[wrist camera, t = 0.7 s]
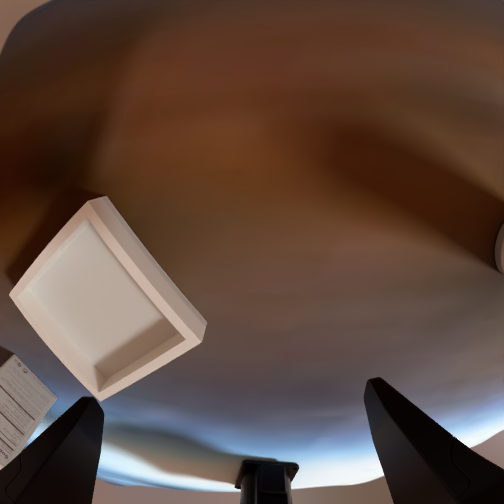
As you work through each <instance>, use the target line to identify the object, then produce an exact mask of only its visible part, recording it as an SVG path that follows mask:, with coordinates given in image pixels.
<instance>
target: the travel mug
mask: <svg viewBox="0 0 504 504" xmlns="http://www.w3.org/2000/svg"><path fill="white" fill-rule="evenodd" d="M495 261H496V265H497V268H498V270H499V271H500V272H501V273H502V274H503V275H504V223H503V225H502V227H501V229H500V231H499V233H498V236H497V239H496V244H495Z"/></svg>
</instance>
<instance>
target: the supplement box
mask: <svg viewBox="0 0 504 504" xmlns="http://www.w3.org/2000/svg"><path fill="white" fill-rule="evenodd" d="M56 399H57V397H56V395H55V394H54V393H53V392H52V391H51V390H50V389H49V388H48V387H46V386H45V385H44V384H43V383H42V382H41V381H40V380H39V379H38V378H37V377H36V376H35V375H34V374H33V373H32V372H31V371H30V370H29V368H28V367H27V366H26V365H25V364H24V363H23V362H22V361H21V360H20V359H19V358H18V357H17V356H16V355H15V354H13V355H12V356H11V357H10V358H9V359H8V360H7V361H6V362H5V363H4V364H3V365H2V366H1V367H0V470H1V469H2V468H3V467H5V466H6V465H7V464H8V463H9V462H11V461H12V460H13V459H14V458H15V457H16V456H17V455H18V454H19V453H20V452H21V450H22V449H23V447H24V446H25V444H26V443H27V441H28V440H29V439H30V437H31V436H32V434H33V433H34V431H35V430H36V428H37V427H38V425H39V424H40V422H41V421H42V419H43V418H44V416H45V415H46V413H47V412H48V411H49V409H50V408H51V406H52V405H53V403H54V402H55V401H56Z"/></svg>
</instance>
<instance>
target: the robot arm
mask: <svg viewBox="0 0 504 504" xmlns="http://www.w3.org/2000/svg"><path fill="white" fill-rule="evenodd" d="M364 403H365V407H366V412H367V416H368V421H369V425H370V430H371V435H372V439H373V443H374V446H375V449H376V451H377V454H378V457H379V460H380V463H381V466H382V469H383V472H384V475H385V478H386V481H387V484H388V487H389V490H390V493H391V496H392V499H393V503H394V504H504V469H502V468H501V467H499V466H497V465H496V464H494V463H492V462H490V461H489V460H487V459H485V458H484V457H482V456H480V455H479V454H477V453H476V452H474V451H473V450H471V449H470V448H469V447H467V446H466V445H464V444H463V443H462V442H460V441H459V440H458V439H457V438H455V437H453V435H452V434H450V433H449V432H448V431H446V430H445V429H444V428H443V427H441V426H440V425H439V424H438V423H436V422H435V421H434V420H433V419H431V418H430V417H429V416H428V415H426V414H425V413H424V412H423V411H422V410H420V409H419V408H418V407H417V406H415V405H414V404H413V403H412V402H410V401H409V400H408V399H407V398H405V397H404V396H403V395H402V394H400V393H399V392H398V391H397V390H396V389H394V388H393V387H392V386H391V385H389V384H388V383H387V382H386V381H385V380H383V379H382V378H380V377H376V378H372V379H369V380H368V381H367V384H366V388H365V393H364ZM103 424H104V412H103V410H102V408H101V407H100V405H99V403H98V402H97V400H96V399H95V398H94V397H93V396H83V397H81V398H80V399H79V400H78V401H77V402H76V403H75V404H73V405H72V406H71V407H70V408H69V409H68V410H67V411H66V412H65V413H63V414H62V415H61V416H60V417H59V418H58V419H57V420H56V421H55V422H54V423H52V424H51V425H50V426H49V427H48V428H47V429H46V430H45V431H44V432H43V433H41V434H40V435H39V436H38V437H37V438H36V439H35V440H34V441H33V442H32V443H31V444H29V445H28V446H27V447H26V448H25V449H24V450H23V451H22V452H21V453H19V454H18V455H17V456H16V457H15V458H14V459H13V460H12V461H11V462H9V463H8V464H7V465H6V466H5V467H3V468H2V469H1V470H0V504H92V498H93V492H94V486H95V480H96V475H97V469H98V464H99V459H100V453H101V444H102V434H103ZM298 470H299V465H298V464H287V463H272V462H261V461H251V460H244V461H243V462H242V465H241V468H240V471H239V474H238V477H237V480H236V483H235V488H237V489H241V499H240V501H241V502H240V504H292V494H291V482H292V480H293V478H294V477H295V475H296V473H297V471H298Z"/></svg>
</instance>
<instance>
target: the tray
mask: <svg viewBox="0 0 504 504" xmlns="http://www.w3.org/2000/svg"><path fill="white" fill-rule="evenodd" d="M9 296H10V297H11V299H12V300H13V301H14V303H15V304H16V306H17V307H18V308H19V310H20V311H21V312H22V314H23V315H24V317H25V318H26V319H27V320H28V322H29V323H30V324H31V326H32V327H33V328H34V330H35V331H36V332H37V333H38V335H39V336H40V337H41V338H42V339H43V341H44V342H45V343H46V344H47V345H48V347H49V348H50V349H51V350H52V351H53V353H54V354H55V355H56V356H57V357H58V358H59V359H60V360H61V362H62V363H63V364H64V365H65V366H66V367H67V368H68V369H69V370H70V371H71V373H72V374H73V375H74V376H75V377H76V378H77V379H78V380H79V381H80V382H81V383H82V384H83V385H84V386H85V387H86V388H87V389H88V390H89V391H90V392H91V393H92V394H93V395H94V396H95V397H96V398H97V399H98V400H99V401H102V400H104V399H106V398H107V397H109V396H111V395H113V394H115V393H116V392H118V391H120V390H122V389H124V388H125V387H127V386H129V385H131V384H132V383H134V382H136V381H137V380H139V379H141V378H143V377H144V376H146V375H148V374H150V373H151V372H153V371H155V370H156V369H158V368H160V367H161V366H163V365H165V364H167V363H168V362H170V361H172V360H173V359H175V358H177V357H178V356H180V355H182V354H183V353H185V352H186V351H188V350H190V349H191V348H193V347H195V346H196V345H198V344H200V343H201V342H202V339H203V336H204V332H205V329H206V325H207V322H206V320H205V319H204V318H203V317H202V316H201V315H200V313H199V312H198V311H197V310H196V309H195V308H194V307H193V305H192V304H191V303H190V302H189V301H188V299H187V298H186V297H185V296H184V295H183V294H182V292H181V291H180V290H179V289H178V288H177V286H176V285H175V284H174V283H173V282H172V280H171V279H170V278H169V277H168V275H167V274H166V273H165V272H164V271H163V269H162V268H161V267H160V266H159V264H158V263H157V262H156V261H155V259H154V258H153V257H152V256H151V254H150V253H149V252H148V250H147V249H146V248H145V247H144V245H143V244H142V243H141V241H140V240H139V239H138V238H137V236H136V235H135V234H134V232H133V231H132V230H131V228H130V227H129V226H128V224H127V223H126V222H125V220H124V219H123V218H122V216H121V215H120V214H119V212H118V211H117V210H116V208H115V207H114V206H113V204H112V203H111V201H110V200H109V199H108V197H107V196H104V197H100V198H97V199H93V200H89V201H87V202H86V203H85V204H84V205H83V206H82V207H81V208H80V209H79V211H78V212H77V213H76V214H75V215H74V216H73V217H72V218H71V219H70V220H69V221H68V222H67V224H66V225H65V226H64V227H63V228H62V229H61V230H60V231H59V233H58V234H57V235H56V236H55V237H54V238H53V239H52V241H51V242H50V243H49V244H48V245H47V246H46V248H45V249H44V250H43V251H42V252H41V254H40V255H39V256H38V257H37V259H36V260H35V261H34V262H33V264H32V265H31V266H30V267H29V269H28V270H27V271H26V272H25V274H24V275H23V276H22V278H21V279H20V280H19V282H18V283H17V284H16V286H15V287H14V288H13V290H12V291H11V292H10V294H9Z"/></svg>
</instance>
